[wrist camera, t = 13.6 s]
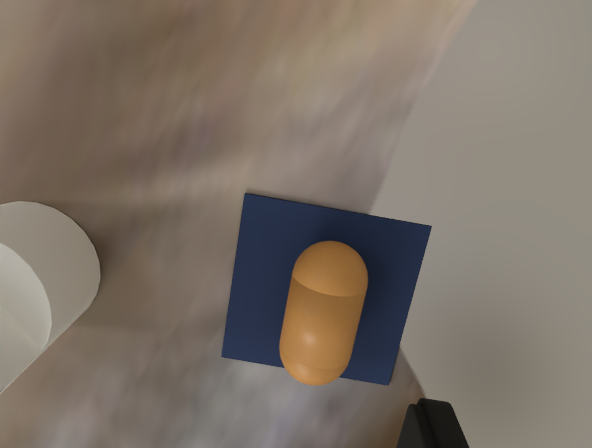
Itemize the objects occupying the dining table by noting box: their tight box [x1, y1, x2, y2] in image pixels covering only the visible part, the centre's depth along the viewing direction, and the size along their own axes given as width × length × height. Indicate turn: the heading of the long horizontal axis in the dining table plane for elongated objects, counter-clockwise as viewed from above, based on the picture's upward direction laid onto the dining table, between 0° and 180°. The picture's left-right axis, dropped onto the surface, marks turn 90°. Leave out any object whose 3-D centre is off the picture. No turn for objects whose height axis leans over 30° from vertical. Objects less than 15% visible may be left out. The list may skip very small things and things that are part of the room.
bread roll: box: [279, 241, 368, 385], centre depth 28 cm, size 9×5×5 cm, turn 170°
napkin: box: [221, 193, 432, 385], centre depth 30 cm, size 12×12×1 cm
